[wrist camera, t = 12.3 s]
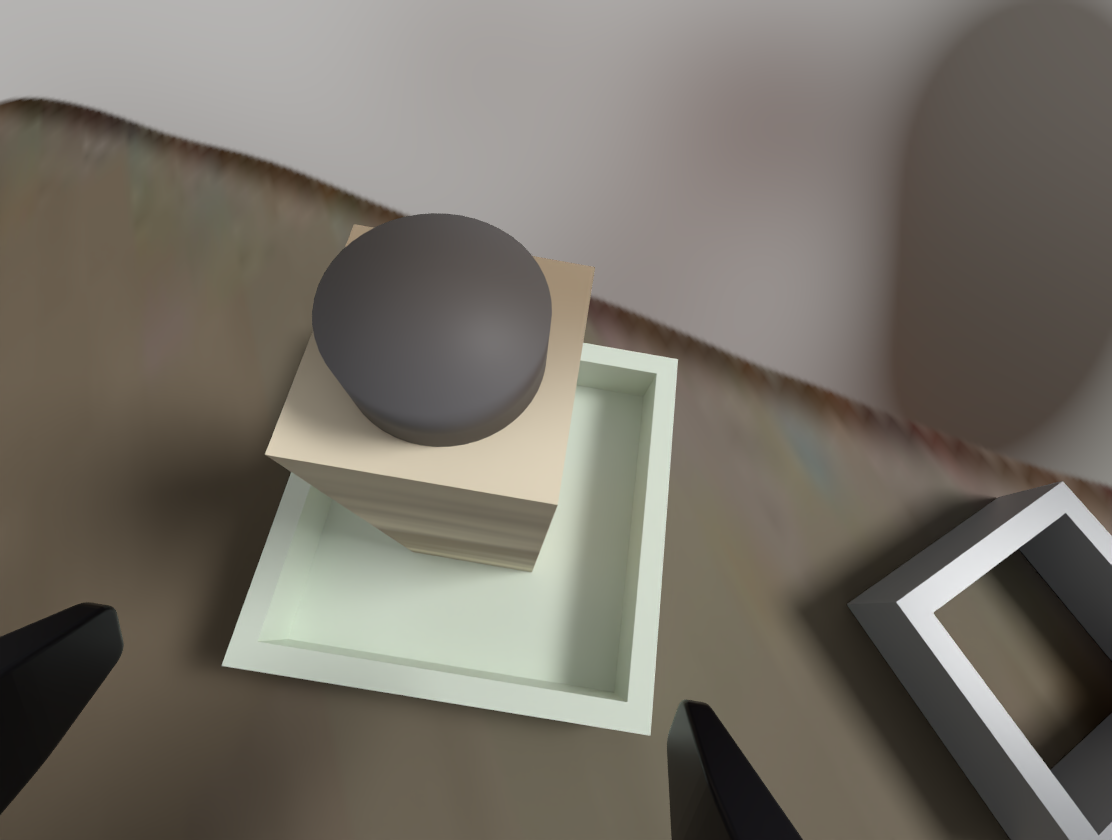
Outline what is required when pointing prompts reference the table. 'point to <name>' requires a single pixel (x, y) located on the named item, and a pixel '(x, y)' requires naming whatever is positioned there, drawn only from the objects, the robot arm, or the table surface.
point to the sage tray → (491, 581)
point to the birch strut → (440, 387)
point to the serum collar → (957, 689)
